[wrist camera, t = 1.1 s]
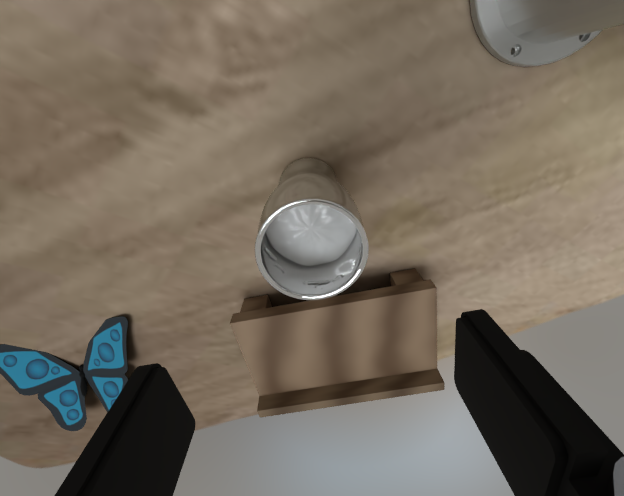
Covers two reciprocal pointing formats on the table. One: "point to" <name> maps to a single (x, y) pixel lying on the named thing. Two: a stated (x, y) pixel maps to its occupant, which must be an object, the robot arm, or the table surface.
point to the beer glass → (310, 234)
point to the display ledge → (342, 346)
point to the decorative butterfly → (71, 374)
